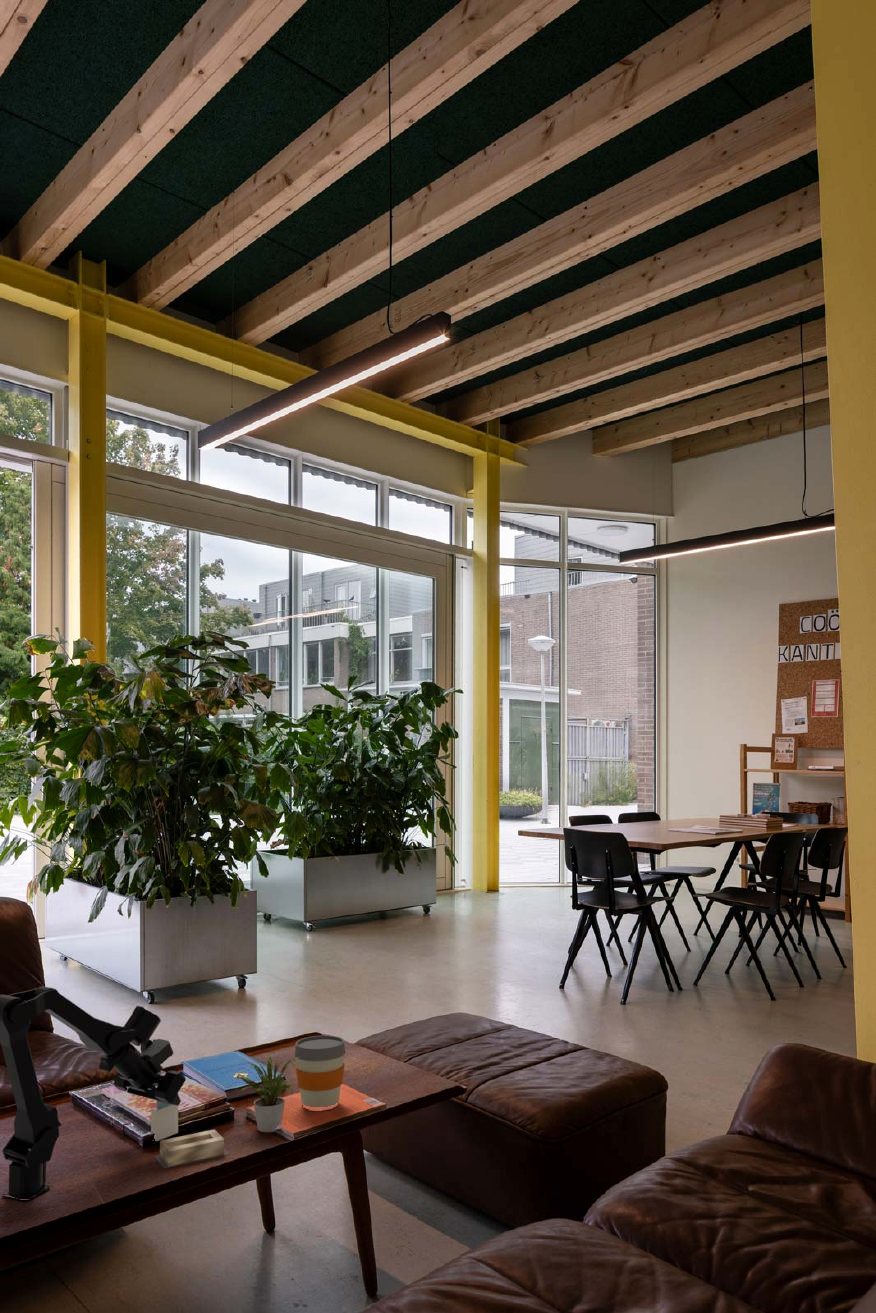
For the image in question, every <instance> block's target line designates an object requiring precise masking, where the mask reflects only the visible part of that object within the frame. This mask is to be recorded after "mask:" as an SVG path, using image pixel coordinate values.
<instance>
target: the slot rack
mask: <svg viewBox="0 0 876 1313" xmlns="http://www.w3.org/2000/svg"><path fill="white" fill-rule="evenodd" d="M224 1148H225V1138H224V1137H223V1136H222V1135H221V1134H220V1133H218V1131H217V1130H216V1129H210V1130H204V1131H200V1132H197V1133H191V1134H186V1135H182V1136H176V1137H172V1138H167V1139H166V1138H165V1139H161V1140H159V1155H160V1156H161V1158H162V1159H163V1160H164V1161H165V1163H166V1164H167V1165H168V1167H169V1166H173V1165H177V1164H182V1163H186V1162H191V1161H195V1160H200V1159H204V1158H209V1157H213V1156H218V1155H222V1154H224ZM169 1168H170V1167H169Z"/></svg>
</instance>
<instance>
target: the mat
mask: <svg viewBox="0 0 876 1313" xmlns="http://www.w3.org/2000/svg"><path fill="white" fill-rule="evenodd" d="M226 1155H227V1156H228V1155H230V1153H229V1151H228V1150H227V1149H226V1148H225V1147H224V1154H222V1155H218V1156H213V1157H209V1158H204V1159H200V1160H195V1161H191V1162H186V1163H182V1164H177V1165H173V1166H169V1167H168V1165H167V1164H166V1163H165V1161H164V1160H163V1159H162V1158H161V1156H160V1154H157V1155H154V1157H155V1158H156V1160H157V1161H158V1163H159V1164H160V1165H161V1166H162V1168H163V1169H164V1170H165V1169H169V1168H173V1167H177V1166H182V1165H183V1166H184V1165H187V1164H191V1163H195V1162H200V1161H205V1160H208V1159H214V1158H219V1157H223V1156H226Z"/></svg>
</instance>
